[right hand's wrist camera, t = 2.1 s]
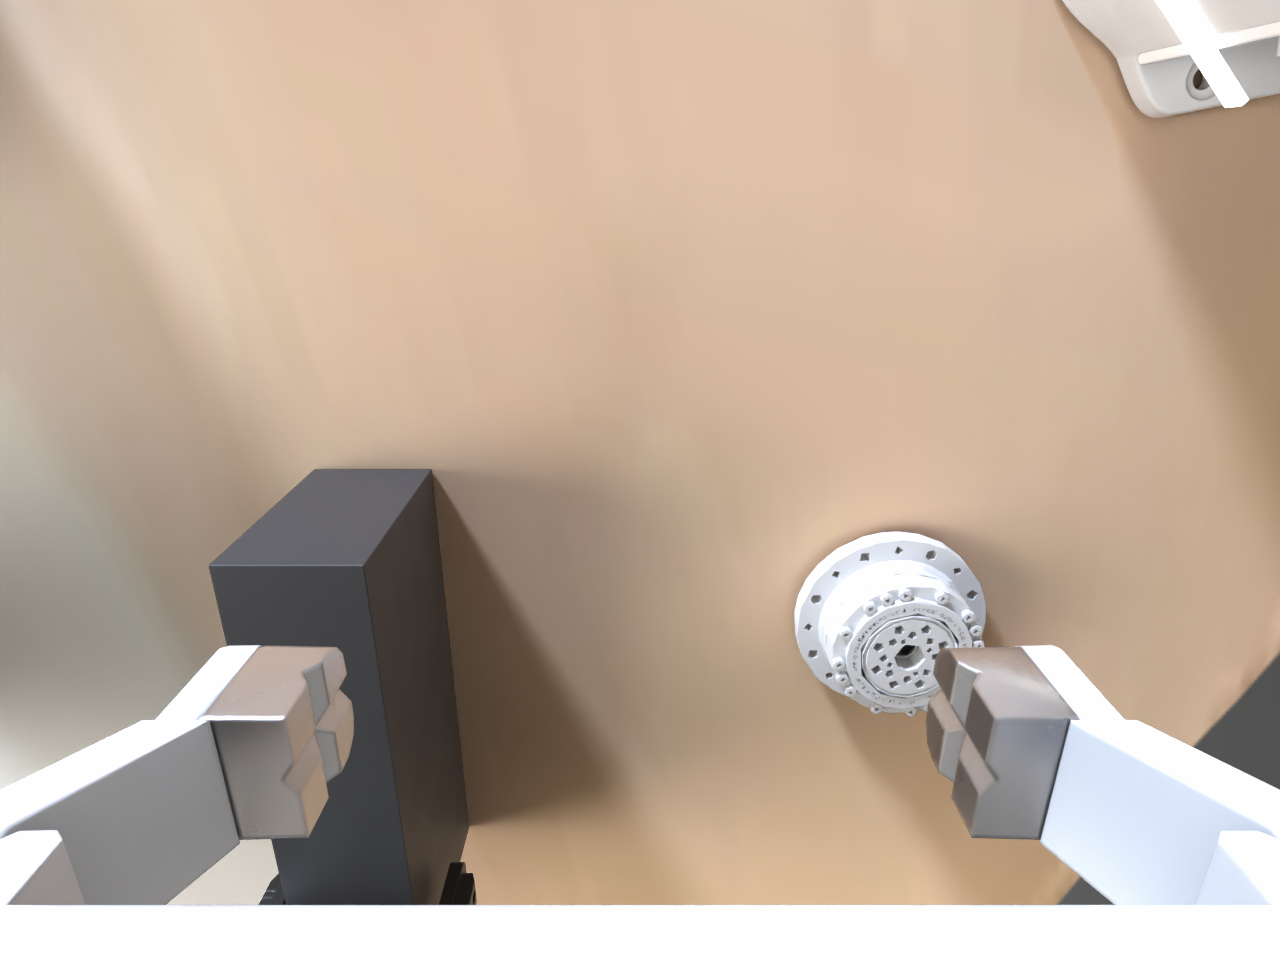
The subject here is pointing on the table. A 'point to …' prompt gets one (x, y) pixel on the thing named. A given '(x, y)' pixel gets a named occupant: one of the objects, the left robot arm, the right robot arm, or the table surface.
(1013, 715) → the right robot arm
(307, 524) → the box
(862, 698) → the mechanical component
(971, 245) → the table surface
